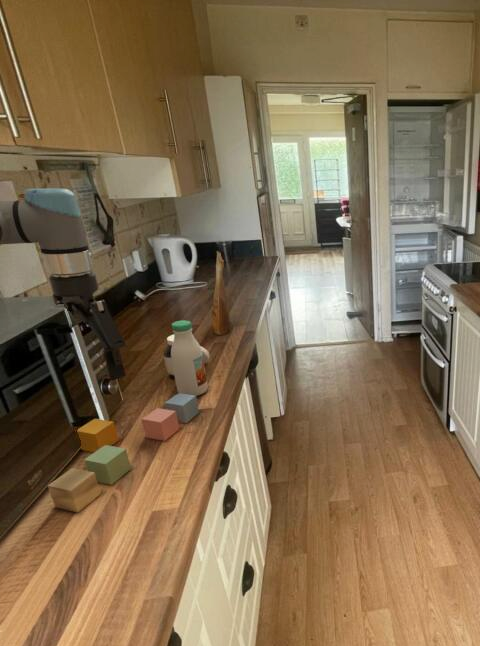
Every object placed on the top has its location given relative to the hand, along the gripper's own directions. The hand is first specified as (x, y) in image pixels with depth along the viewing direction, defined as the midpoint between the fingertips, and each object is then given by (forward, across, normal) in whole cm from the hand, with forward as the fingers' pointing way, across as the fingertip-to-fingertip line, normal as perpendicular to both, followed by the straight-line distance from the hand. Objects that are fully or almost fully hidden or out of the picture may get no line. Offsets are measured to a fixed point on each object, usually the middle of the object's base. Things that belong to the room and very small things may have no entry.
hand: (98, 370), depth 92 cm
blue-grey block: (+16, -7, -13) cm, 22 cm away
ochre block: (+16, -1, +4) cm, 17 cm away
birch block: (+16, -14, +16) cm, 27 cm away
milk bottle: (+16, +1, -23) cm, 28 cm away
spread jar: (+16, +13, -32) cm, 38 cm away
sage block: (+16, -13, +9) cm, 23 cm away
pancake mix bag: (+16, +32, -64) cm, 73 cm away
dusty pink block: (+16, -9, -6) cm, 19 cm away
